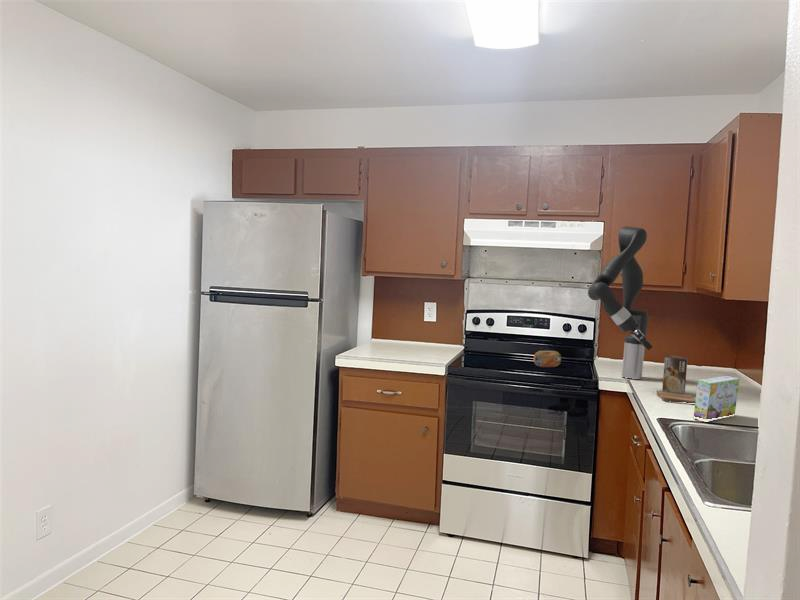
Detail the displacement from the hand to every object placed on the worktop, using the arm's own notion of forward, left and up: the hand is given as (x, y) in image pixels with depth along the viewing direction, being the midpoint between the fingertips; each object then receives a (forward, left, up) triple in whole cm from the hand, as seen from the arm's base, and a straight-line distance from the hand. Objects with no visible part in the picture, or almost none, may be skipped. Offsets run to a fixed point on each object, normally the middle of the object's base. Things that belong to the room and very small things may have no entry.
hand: (648, 347), depth 263 cm
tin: (-37, -41, -20) cm, 59 cm away
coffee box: (0, +12, -20) cm, 23 cm away
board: (+12, +10, -19) cm, 25 cm away
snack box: (+38, +18, -20) cm, 47 cm away
